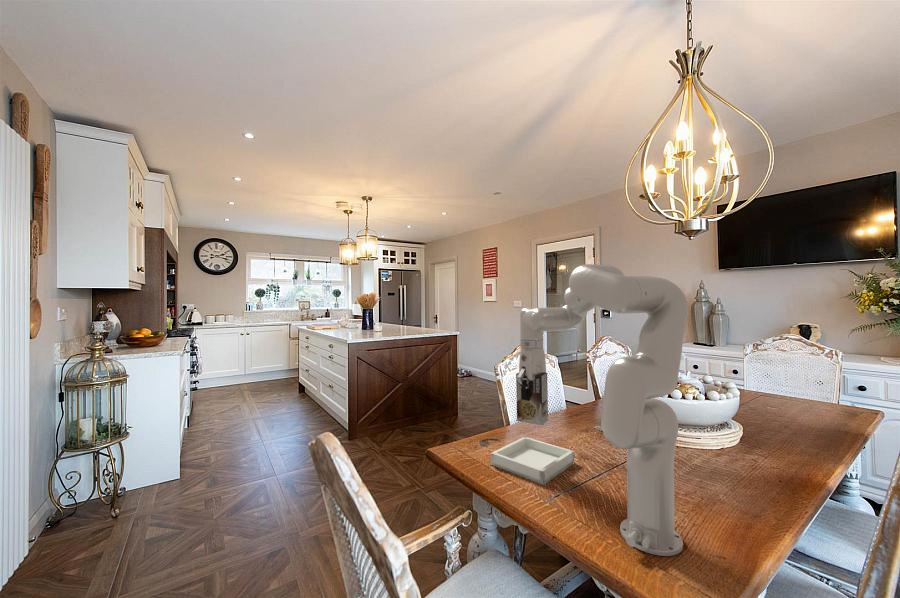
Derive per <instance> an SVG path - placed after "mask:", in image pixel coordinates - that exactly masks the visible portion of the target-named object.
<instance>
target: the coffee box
mask: <svg viewBox="0 0 900 598" xmlns="http://www.w3.org/2000/svg"><path fill="white" fill-rule="evenodd" d="M518 375H519V372H517V373H515V383H516V384H515V385H516V387H515V388H516V392H515V393H516V421H517V422H520V423H524V424H525V423H526V424H533V425H538V426H539V425H540V426H544V425H545V424H546V423H547V422H548V421H549V404H548V403H549V401H548V396H549V395H548V392H549V391H548V372H546V373H541V374H539V375H535V380H534V381H531V382H530V386H529V388H530V401H526V400H522V399H521V387H520V384H519V382H518V380H517V376H518ZM524 378H527V376H525V375H524ZM527 379H528V378H527ZM525 382H526V384H527V381H525Z"/></svg>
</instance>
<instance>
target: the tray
mask: <svg viewBox="0 0 900 598" xmlns="http://www.w3.org/2000/svg"><path fill="white" fill-rule="evenodd" d="M574 464H575V451H574V450H572V449H568V448H565V447H562V446H557V445H554V444H551V443H548V442H543V441H541V440H538V439H535V438H530V437H528V436H523V437H521V438H519V439H517V440H515V441H513V442H511V443H508V444H507V445H504V446H503V447H501V448H499V449H496V450H494V451H493V452H490V466H492V465H493V466H492V467H495V466H496V467H495V468H497V467H498V468H497V469H500V470H502V469H503V470H502V471H505V470H506V472H508V471H509V472H508V473H510V472H511V473H510V474H513V473H514V474H513V475H515V474H516V475H515V476H517V477H521V478H523V477H524V479H526V480H528V479H529V481H531V482H534V483H537V484H538V485H542V486H544V485H545V484H547V483H548V482H550V481H551V480H552V479H554V478H556V477H557V476H559V474H561V473H563V472H564V471H565V470H567V469H568V468H569V467H571V466H572V465H574Z"/></svg>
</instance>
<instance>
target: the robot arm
mask: <svg viewBox="0 0 900 598" xmlns="http://www.w3.org/2000/svg"><path fill="white" fill-rule="evenodd" d="M563 295H564V302H565V305H564V306H562V307H559V306H556V307H525V308H522V309H521V310H520V313H519V322H520V326H519V327H520V328H519V329H520V331H519V333H520V334H519V335H520V339H519V340H520V342H519V343H520V345H519V346H520V353H519V360H518V361H519V363H518V364H519V366H518V368H519V369H518V373H519V375H518V376H517V380H518V382H519V384H520V387H521V399H522V400H526V401H530V388H529V386H530V382H531V381H534V380H535V375H539V374H541V373H547V365H546V363H547V362H546V354H545V348H544V332H545V333H546V332H561V331H567V330H569V329H572V328H573V327H575V326H577V325H579V324H580V323H582V322H583V321H584V320H585V319H586V317H587V315H588V313H589V312H590V311H592V310H593V309H595V308H596V307H598V308H601V309H604V310H606V311H609V312H612V313H615V314H644V313H646V314H647V315H648V316H647V318H646V321H645V322H644V323H643V326H642V327H641V329H640V333H639V336H638V345H637V349H636V353H635V355H628V356H623V357H619V358H618V359H616V360H614V361H613V362H612V364H611V365H610V366H609V368H608V370H607V373H606V376H605V382H604V390H603V398H602V399H603V400H602V406H601V418H600V419H601V423H600V424H601V427H602V429H603V431H602V432H603V434H604V437H605V438H606V440H607V442H608V443H610V444H611V446H613V447H615V448H618V449H620V450H627V454H626V496H627V497H626V505H627V508H626V510H627V511H626V515H627V516H626V517H627V518H626V519H624V520H622V521H621V523H620V525H619V527H620V528H619V532H620V535H621V536H622V538H623V539H624V540H625V543H626V544H627V545H628V546H629V547H631V548H636V549H637V550H640V551H642V552H644V553H647V554H650V555H655V556H661V557H672V556H675V555H679V554H680V553H681V552H682V551H683V549H684V542H683V539H682V536H681V535H680V534H679V532H677V531H676V530H675V452H676V444H677V440H678V435H679V420H678V417H677V415H676V413H675V411H674V409H673V408H672V406H670V405H669V404H668V403H667V402H665V401H663V400H661V399H657V398H660V397H661V398H662V397H667V396H669V395H670V394H672V393H674V391H675V390H676V387H677V385H678V382H679V381H678V379H679V373H680V367H681V360H682V359H681V358H682V352H683V345H684V344H683V342H684V337H685V332H686V327H687V323H688V317H689V303H688V302H689V301H688V300H687V297H686V295H685V293H684V291H682V288H680V287H679V285H677V284H676V283H674V282H672V281H670V280H668V279H665V278H662V277H658V276H648V275H647V276H646V275H634V276H633V275H625V274H624V272H623V271H622V270H621V269H620V268H618V267H616V266H613V265H610V264H592V263H591V264H590V263H588V264H586V263H585V264H581V265H578V266H577V267H576V268H575V269H574V270H572V272H571V274H570V275H569V279H568V287H567V288H566V290H565V292H564V294H563ZM524 375H525V376H527V378H528V379H527V378H524ZM525 381H527V384H526V382H525Z"/></svg>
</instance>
